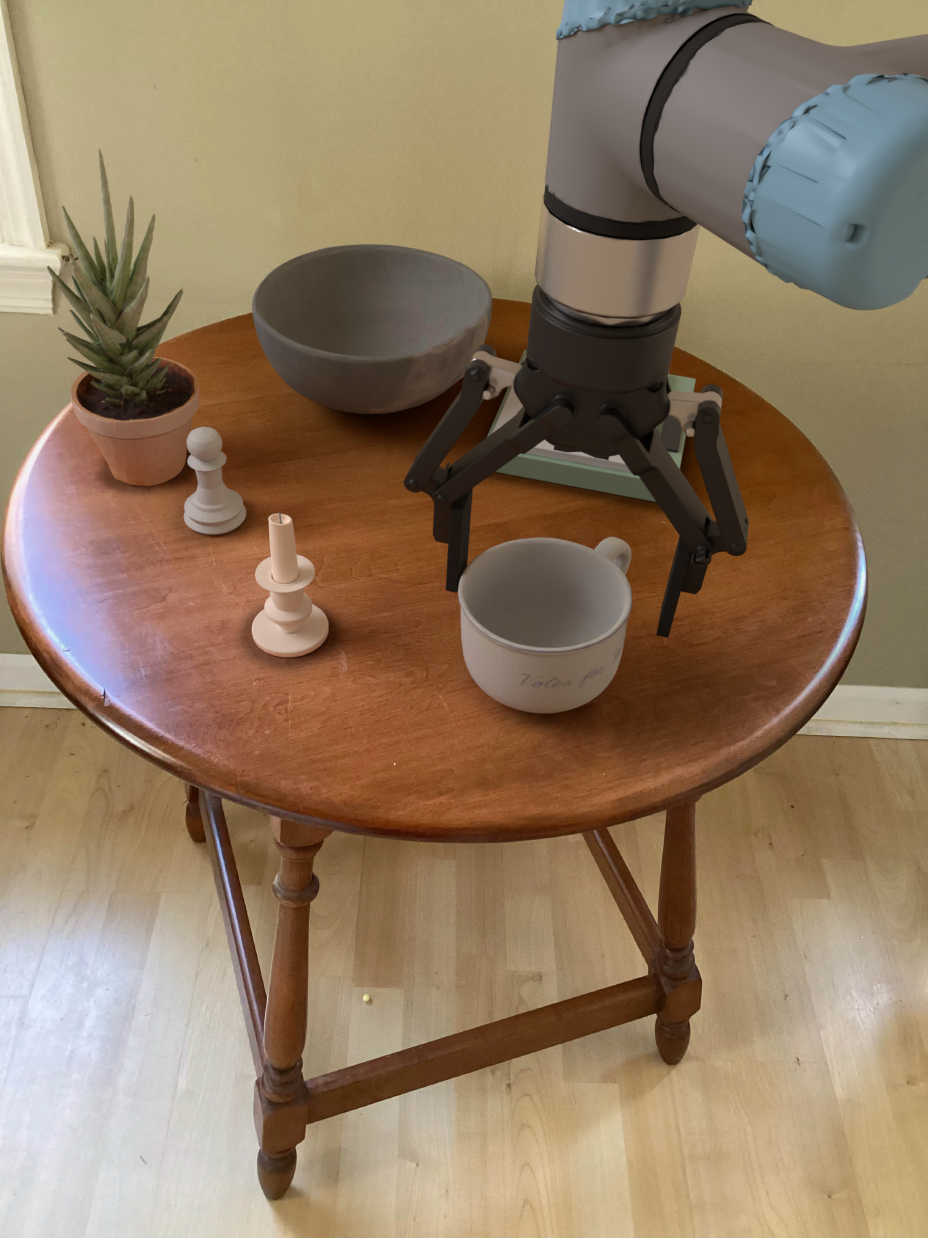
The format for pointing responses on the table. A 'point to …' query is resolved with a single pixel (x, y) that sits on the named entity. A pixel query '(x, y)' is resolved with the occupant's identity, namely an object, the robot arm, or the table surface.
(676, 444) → the scale
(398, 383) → the bowl
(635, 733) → the table surface
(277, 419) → the table surface
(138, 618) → the table surface
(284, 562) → the candle
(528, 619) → the teacup
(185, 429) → the potted plant
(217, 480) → the chess piece
